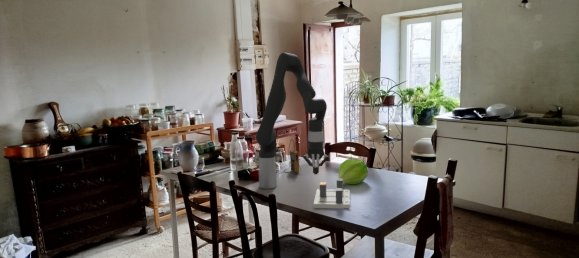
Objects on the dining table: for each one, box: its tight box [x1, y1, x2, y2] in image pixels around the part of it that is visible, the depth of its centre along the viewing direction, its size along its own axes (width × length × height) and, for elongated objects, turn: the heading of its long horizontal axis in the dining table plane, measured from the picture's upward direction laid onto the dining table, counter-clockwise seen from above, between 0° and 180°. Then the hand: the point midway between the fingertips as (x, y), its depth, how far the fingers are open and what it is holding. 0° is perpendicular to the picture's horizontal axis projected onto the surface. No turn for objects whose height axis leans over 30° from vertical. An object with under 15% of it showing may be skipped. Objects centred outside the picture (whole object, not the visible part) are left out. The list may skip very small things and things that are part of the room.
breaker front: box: [335, 187, 342, 203], centre depth 192 cm, size 3×4×6 cm
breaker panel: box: [313, 188, 351, 209], centre depth 201 cm, size 17×22×2 cm
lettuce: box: [337, 158, 369, 185], centre depth 225 cm, size 15×22×15 cm
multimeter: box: [283, 139, 302, 175], centre depth 252 cm, size 15×10×20 cm
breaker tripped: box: [319, 181, 327, 197], centre depth 201 cm, size 3×4×6 cm
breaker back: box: [336, 177, 344, 192], centre depth 207 cm, size 3×4×6 cm
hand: (315, 174), depth 200 cm, fingers closed
